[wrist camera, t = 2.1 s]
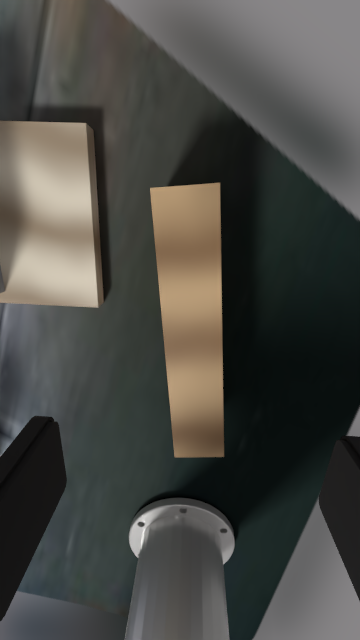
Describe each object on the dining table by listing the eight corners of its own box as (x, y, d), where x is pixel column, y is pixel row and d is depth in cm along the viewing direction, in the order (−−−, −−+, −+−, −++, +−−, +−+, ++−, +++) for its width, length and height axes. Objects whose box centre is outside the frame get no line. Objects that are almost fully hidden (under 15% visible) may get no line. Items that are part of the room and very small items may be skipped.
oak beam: (218, 409, 28) (224, 456, 22) (178, 410, 28) (174, 457, 23) (213, 192, 21) (220, 182, 16) (161, 196, 22) (150, 188, 16)
